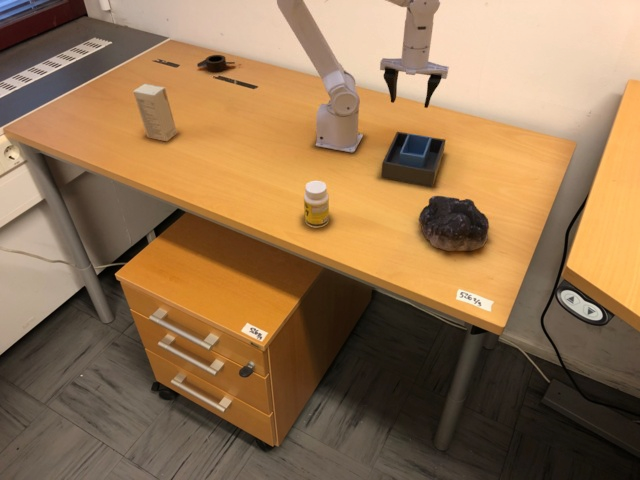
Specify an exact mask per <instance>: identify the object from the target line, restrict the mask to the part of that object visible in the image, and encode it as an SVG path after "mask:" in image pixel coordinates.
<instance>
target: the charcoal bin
mask: <svg viewBox="0 0 640 480" xmlns="http://www.w3.org/2000/svg"><path fill="white" fill-rule="evenodd" d="M407 136H408V132H402V131H396V133H395V135H394V137H393V139H392V141H391V143H390V145H389V147H388V150H387V152H386V154H385V156H384V158H383V159H382V160H383V161H382V163H381V164H382V165H381V179H385V180H390V181H396V182H402V183H407V184H412V185H417V186H422V187H427V188H433V187H434V184H435V181H436V179H437V175H438V172H439V168H440V166H441V163H442V161H443V160H442V159H443V156H444V152H445V146H446V141H447V140H446V139H444V138H439V137H432V138H431V145H430V151H429V157H428V160H427V162H426V165H425V168H418V167H413V166H407V165H402V164H399V156H400V152H401V149H402V147H403V145H404V142H405V140H406V138H407Z"/></svg>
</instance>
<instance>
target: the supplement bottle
mask: <svg viewBox="0 0 640 480" xmlns="http://www.w3.org/2000/svg"><path fill="white" fill-rule="evenodd" d="M304 189H305V190H304V194H303V209H304V221H305V223H306V225H307V226H309V227H311V228H314V229H317V228H322V227H323V228H324V227H325V226H326V225H327V224H328V223H329V220H330V207H329V206H330V204H329V203H330V202H329V201H330V198H329V196H330V195H329V193H328V191H327V184H326V182H324V181H322V180H310V181H309V182H307V183H306V184H305V186H304Z"/></svg>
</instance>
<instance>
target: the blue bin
mask: <svg viewBox="0 0 640 480" xmlns="http://www.w3.org/2000/svg"><path fill="white" fill-rule="evenodd" d="M407 133H408V132H407ZM431 138H433V137H432V136H427V135H422V134H421V135H420V134H415V133H408V136H407V138H406V140H405V142H404V145H403V147H402V149H401V152H400V156H399V164H402V165H407V166H413V167H418V168H425V165H426V162H427V160H428V157H429V151H430V145H431Z"/></svg>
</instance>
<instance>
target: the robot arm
mask: <svg viewBox="0 0 640 480" xmlns="http://www.w3.org/2000/svg"><path fill="white" fill-rule="evenodd" d="M385 1H386V2H389V3H391V4H393V5H396V6H398V7H400V8H406V14H405V20H404V28H403V38H402V39H403V40H402V49H401V58H388V57H387V58H385V57H383V58H381V60H380V62H379V63H380V64H379V71H384V73H383V76H382V77H383V80H384V81H385V83H386V86H387V88H388V93H389V98H390V103H392V104H395V102H396V100H397V93H398V79H399V73H400V72H401V73H405V74H406V75H409V76H415V75H417V74H418V75H422V76H423V75H424V76H429V77H428V80H427V85H426V95H425V100H424V108H425V109H428V108H429V105H430V103H431V98H432V96H433V94H434V93H435V91H436V89H437V88H438V86H439V85H440V84H441V81H442V79H443V80H446V79H447V78H448V75H449V68H450V66H447V65H441V64H438V63H435V62H431V61H429V58H430V50H431V44H432V37H433V29H434V19H435V18H434V17H435V14H436V13H437V12H438V10H439V8H440V5H441V1H440V0H385ZM276 4H277V8H278V9H279V10H280V12H281V14H282V16H283V17H284V19H285V21H286V22H287V24H288V26H289V27H290V29H291V31H292V32H293V34H294V35H295V38H296V39H297V41H298V42H299V44H300V45H301V47H302V49H303V50H304V52H305V54H306V56H307V57H308V59H309V60H310V62H311V64H312V65H313V67H314V69H315V70H316V72H317V73H318V75H319V77H320V79H321V80H322V83H323V86H324V88H325V91H326V93H327V95H328V97H329V101H328V103H321V104H320V105H319V107H318V109H317V111H316V112H317V113H316V118H315V127H316V128H315V131H316V132H315V133H316V143H315V146H316V147H318V148H323V149H329V150H335V151H340V152H346V153H353V154H354V153H355V152H356V150H357V148H358V146H359V144H360V142H361V141H362V139H363V137H364V135H363V133H359V120H360V119H359V117H360V115H359V114H360V104H361V102H360V101H361V100H360V97H359V94H358V90H357V87H356V79H355V78H354V76H353V75H352V74H351V73H349V72H348V71H346V70H345V68H344V67H343V64H341V63H340V62H339V61H338V59H337V57H336V55H335V54H334V52H333V50H332V49H331V47H330V45H329V42H327V40H326V38H325V36H324V34H323V33H322V31H321V29H320V28H319V25H318V23H317V22H316V20H315V18H314V17H313V15H312V13H311V11H310V10H309V8H308V6H307V4H306V2H305V1H304V0H276Z"/></svg>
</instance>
